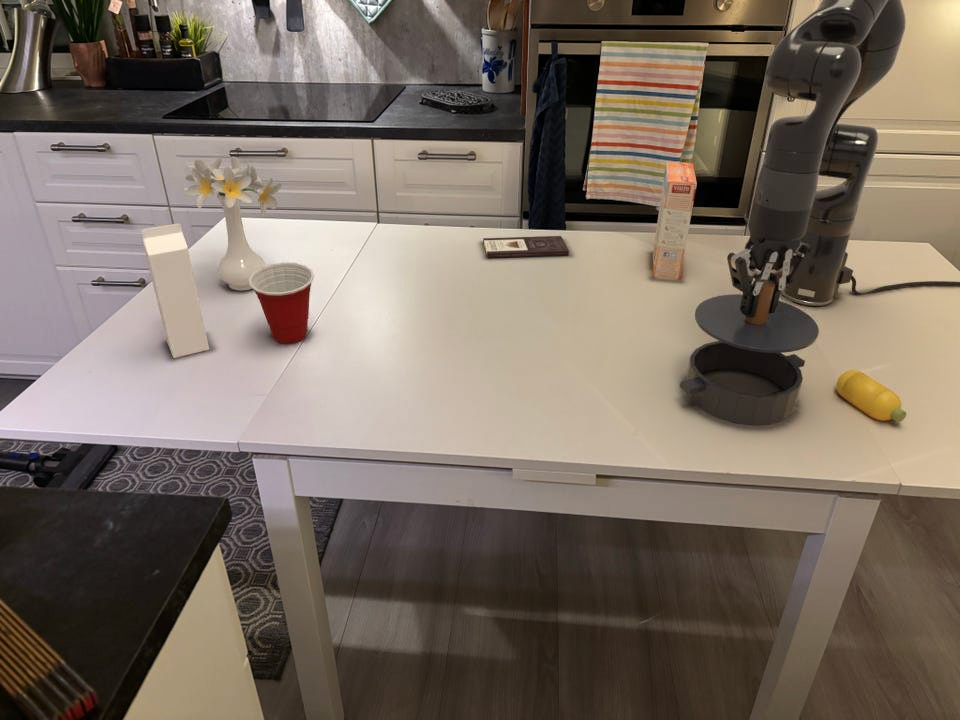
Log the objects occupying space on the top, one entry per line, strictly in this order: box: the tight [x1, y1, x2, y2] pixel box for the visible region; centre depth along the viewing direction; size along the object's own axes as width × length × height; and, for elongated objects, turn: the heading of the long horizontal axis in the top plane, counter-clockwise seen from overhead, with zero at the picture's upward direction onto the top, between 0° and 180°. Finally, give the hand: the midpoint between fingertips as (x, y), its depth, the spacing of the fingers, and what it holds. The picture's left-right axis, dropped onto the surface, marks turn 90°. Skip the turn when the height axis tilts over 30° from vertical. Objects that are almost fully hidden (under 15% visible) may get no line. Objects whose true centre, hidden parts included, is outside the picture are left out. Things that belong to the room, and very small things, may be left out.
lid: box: [694, 279, 820, 354], centre depth 108 cm, size 17×17×7 cm
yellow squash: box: [836, 369, 907, 423], centre depth 112 cm, size 11×5×5 cm, turn 22°
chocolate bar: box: [482, 235, 570, 259], centre depth 166 cm, size 9×1×18 cm
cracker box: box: [652, 161, 698, 280], centre depth 153 cm, size 14×6×21 cm, turn 168°
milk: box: [140, 223, 210, 359], centre depth 122 cm, size 6×6×22 cm
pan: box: [679, 340, 806, 426], centre depth 115 cm, size 16×22×6 cm
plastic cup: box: [249, 261, 315, 345], centre depth 128 cm, size 11×11×12 cm
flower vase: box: [185, 156, 283, 292], centre depth 143 cm, size 13×18×25 cm
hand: (757, 312), depth 108 cm, fingers closed on lid, 3 cm apart
